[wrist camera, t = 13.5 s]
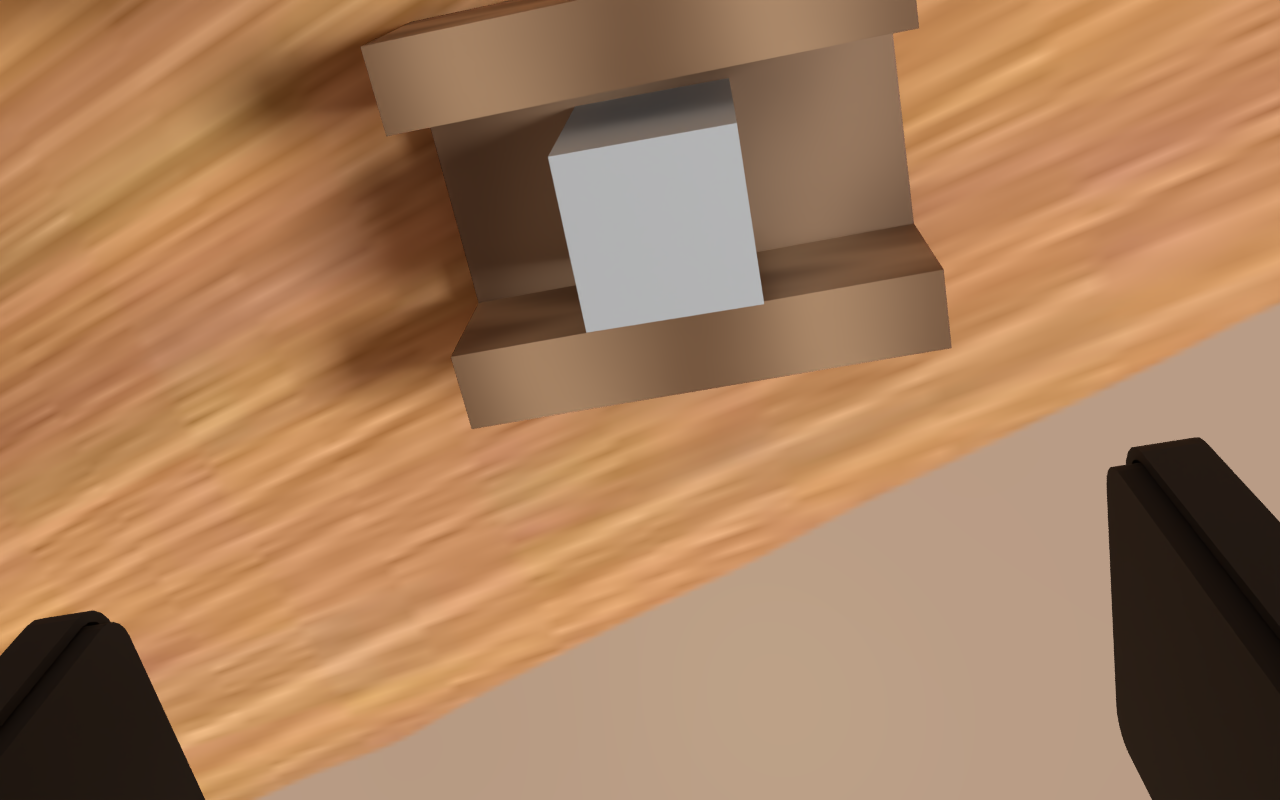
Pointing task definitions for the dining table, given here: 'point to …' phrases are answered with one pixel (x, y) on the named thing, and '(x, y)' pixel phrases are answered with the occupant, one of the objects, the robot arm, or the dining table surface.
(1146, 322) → the dining table surface
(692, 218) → the block
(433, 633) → the dining table surface
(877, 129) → the notched board
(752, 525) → the dining table surface
